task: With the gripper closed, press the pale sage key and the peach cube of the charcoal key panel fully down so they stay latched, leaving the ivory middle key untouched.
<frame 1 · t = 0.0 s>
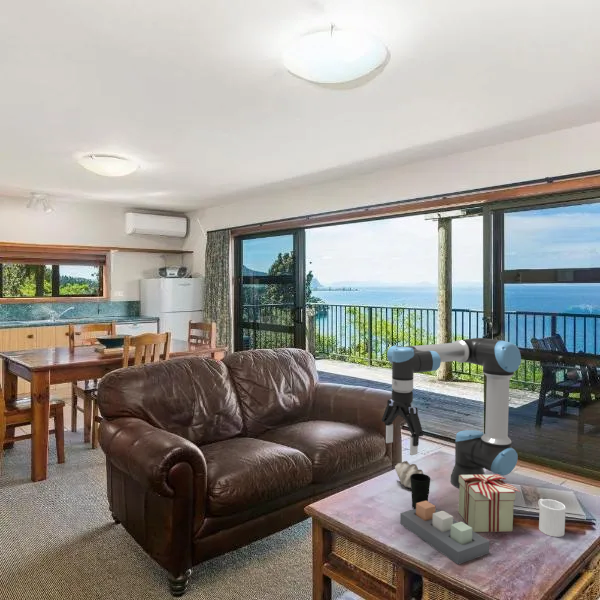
hand: (401, 448, 175), 28 cm above the table, fingers open, 13 cm apart
mug: (548, 528, 174), on the table
seashell: (410, 487, 207), on the table
gift box: (488, 524, 177), on the table
ivory key: (442, 522, 167), point 5 cm above the table, slide at 0.0 cm
sage key: (461, 533, 160), point 5 cm above the table, slide at 0.0 cm
cup: (419, 507, 189), on the table
peach cube: (425, 511, 175), point 5 cm above the table, slide at 0.0 cm
key panel: (442, 537, 167), on the table
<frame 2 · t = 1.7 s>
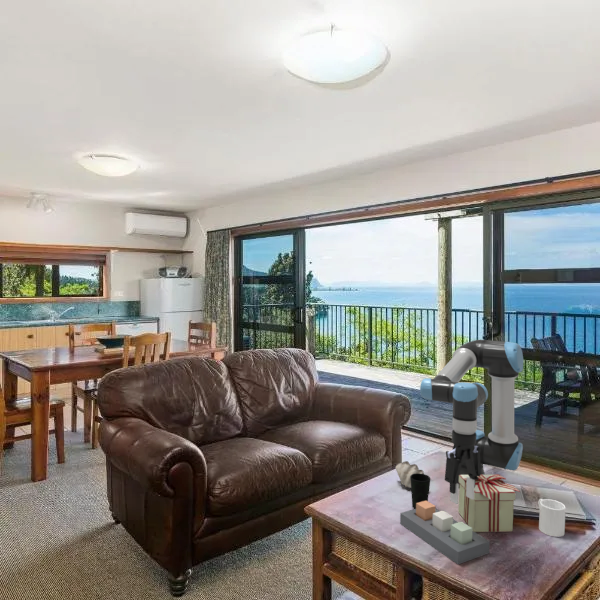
hand: (462, 499, 159), 17 cm above the table, fingers open, 6 cm apart
nothing on the table moved.
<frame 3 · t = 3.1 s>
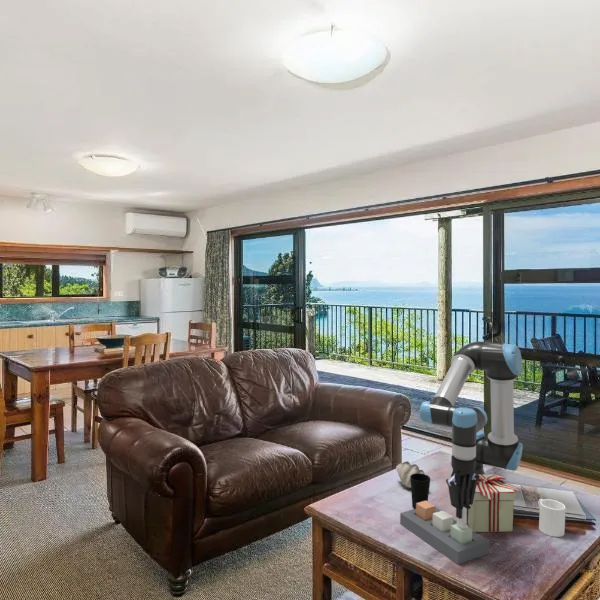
hand: (461, 526, 159), 8 cm above the table, fingers closed
sage key: (461, 534, 160), point 5 cm above the table, slide at 0.3 cm, touching gripper
everything else where it was.
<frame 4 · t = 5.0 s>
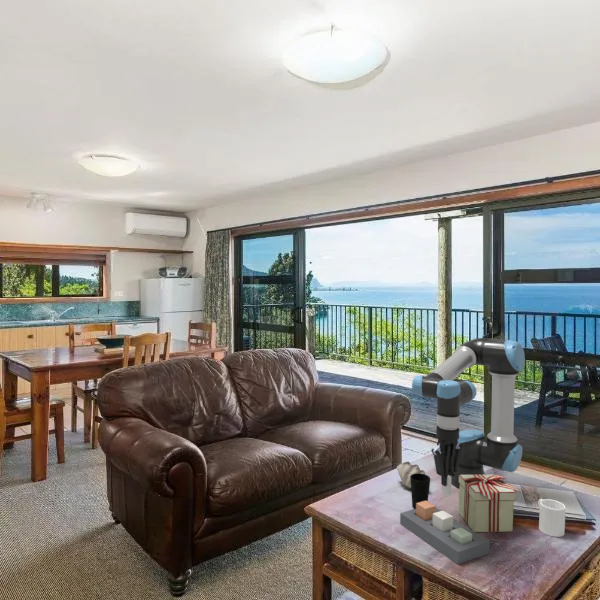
hand: (446, 493, 166), 16 cm above the table, fingers closed
sage key: (461, 539, 160), point 3 cm above the table, slide at 2.1 cm
everything else where it was.
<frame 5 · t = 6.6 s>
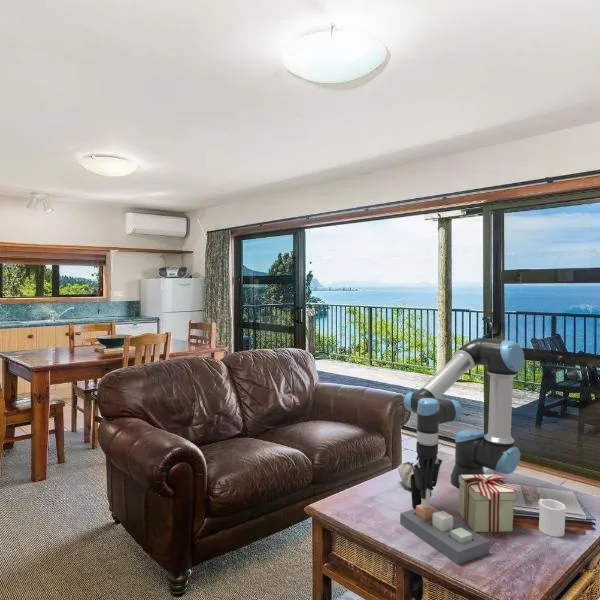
hand: (425, 506, 174), 7 cm above the table, fingers closed
peach cube: (425, 513, 175), point 5 cm above the table, slide at 1.0 cm, touching gripper
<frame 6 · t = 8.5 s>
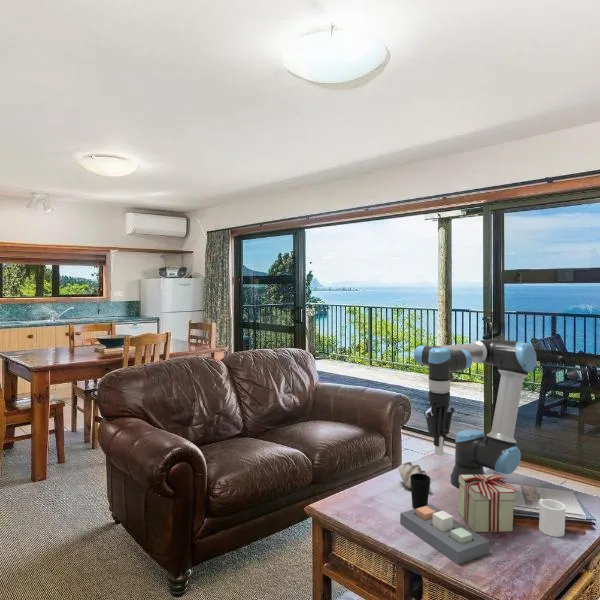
hand: (439, 453, 177), 25 cm above the table, fingers closed
peach cube: (425, 516, 175), point 3 cm above the table, slide at 2.1 cm
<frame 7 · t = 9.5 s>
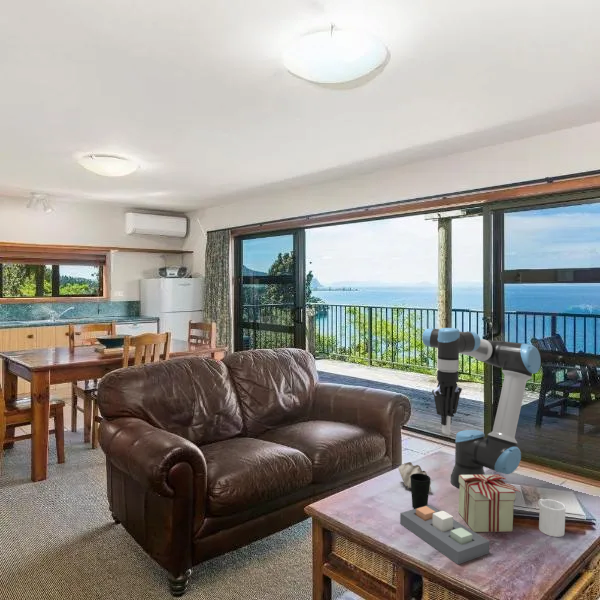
hand: (446, 433, 179), 32 cm above the table, fingers closed
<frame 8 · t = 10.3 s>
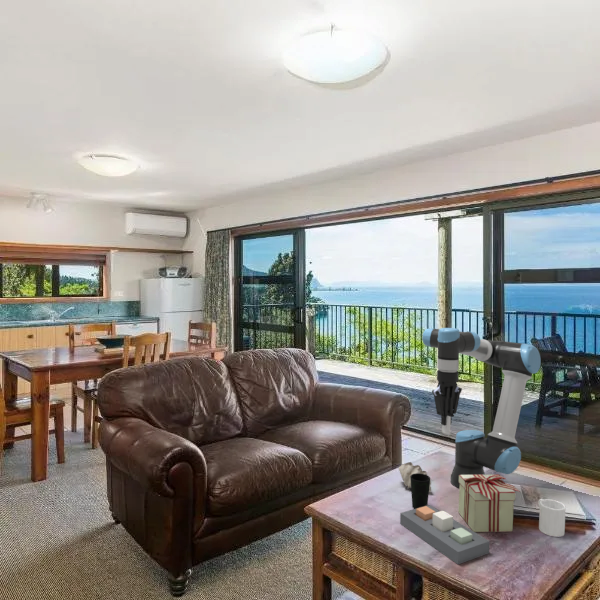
hand: (446, 433, 179), 32 cm above the table, fingers closed
at the end: sage key slide at 2.1 cm; peach cube slide at 2.1 cm; ivory key slide at 0.0 cm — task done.
